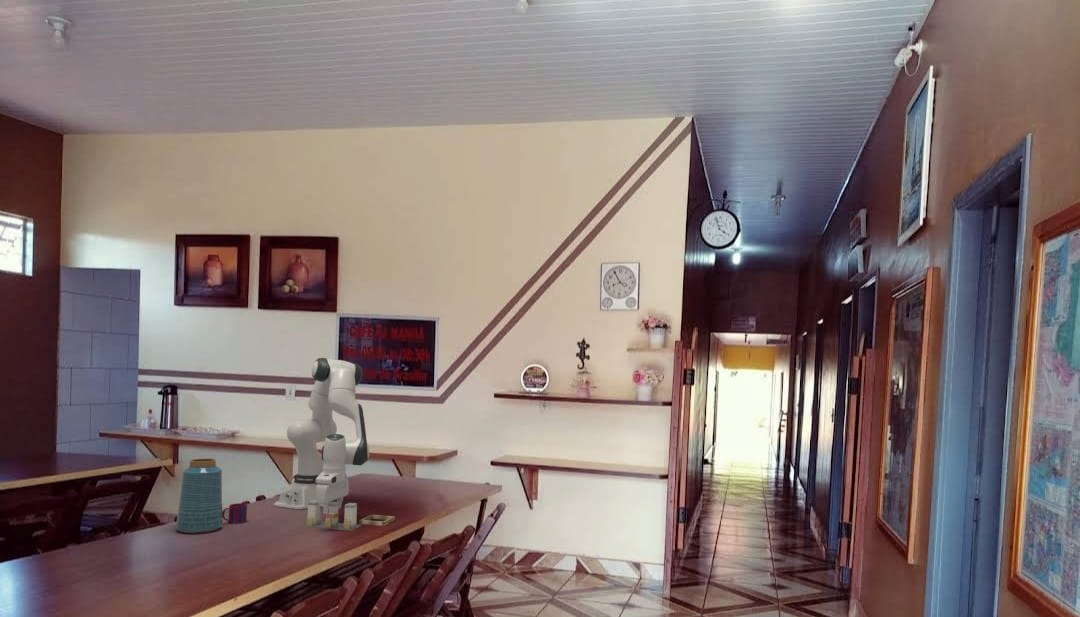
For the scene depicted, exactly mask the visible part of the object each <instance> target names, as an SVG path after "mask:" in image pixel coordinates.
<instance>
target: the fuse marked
mask: <svg viewBox="0 0 1080 617" xmlns="http://www.w3.org/2000/svg"><path fill="white" fill-rule="evenodd" d="M338 503H339V502H337V501H331V502H329V505H328V509H329V513H328V514H325V519H332V527H334V526H336V525H338V523H339V509H338Z"/></svg>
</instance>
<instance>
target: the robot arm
mask: <svg viewBox="0 0 1080 617" xmlns="http://www.w3.org/2000/svg"><path fill="white" fill-rule="evenodd" d="M311 376H312V378H313V380H315V382H314V384H313V387H312V390H311V393H310V397H309V399H308V402H307V403H308V404H307V405H308V408H309V409H310V410H311V411H312V416H311V418H310V419H309V418H308V419H300V420H299V419H298V420H297V421H294V422H292V423H290V424H289V425H288V427H287V429H286V436H287V439H288V441H289V442H290V443H291V444H292V445H293V446H294V449H295V450H296V454H297V474H294V475H292V476H291V477H292V479H294V480H293V482H291V484H289V485H288V486H287V487H286V488H285V487H284V489H283V490H281V493H280V496H279V500H277V501H276V502H274V503H273V506H274V507H280V508H284V509H285V508H286V509H292V510H294V509H295V510H302V509H303V510H304V509H308V502H309V501H312V500H316V502H317V503H318V504H320V508H322V509H323V510H322V511H323V515H326V514H328V513H329V509H328V505H329V502H335V501H336V502H339V503H338V510H340V509H341V508H342V504H343V501H344V497H346V496H348V495H349V493H350V491H349V490H350V488H349V487H350V486H349V485H350V484H349V479H348V475H347V474H346V469H347V468H346V465H351V466H352V465H353V466H360V467H361V466H363V465H364V464H366V462H368V461H369V457H370V448H369V444H368V440H367V432H366V425H365V424H366V423H365V415H364V411H363V410H364V409H363V406H362V404H360V403H359V402H358V401H357V399H356V387H357V386H358V385H359V384H361V381H362V377H363V369H362V367H361V366H360V365H359V364H357V363H353V362H350V361H346V360H342V359H333V358H327V357H319V358H317V359H316V360H314V362H313V364H312V366H311ZM333 412H335V413H337V414H338V415H341V416H344V417H346V418H348V419H350V420H352V421H353V422H354V424H355V426H354V427H355V435H356V439H355V440H346V436H345V435H343V434H339V433H337V431H338V429H337V424H336V422H335V421H334V419H333ZM317 443H324V445H323V446H322V447H321V452H320V451H318V447H317Z"/></svg>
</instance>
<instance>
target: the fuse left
mask: <svg viewBox="0 0 1080 617" xmlns="http://www.w3.org/2000/svg"><path fill="white" fill-rule="evenodd" d="M308 517H309V518H313V525H317V524H319V522H320V521H321V507H320V504H318V503H317V502H316V500H312V501H309V502H308V508H307V518H308Z"/></svg>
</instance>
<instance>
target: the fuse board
mask: <svg viewBox="0 0 1080 617" xmlns="http://www.w3.org/2000/svg"><path fill="white" fill-rule="evenodd" d="M357 521H358V519H357V517H356V527H354V528H350V521H346V520H345V521H344V520H343V522H338V525H336V526H334V527H332V519H326V518H325V520H324V521H321V520H320V522H319V524H317V525H313V518H309V517H308V516H307V517H306V523H305V524H302V525H300V526H299V527H303V528H314V529H323V530H325V529H326V530H338V531H347V532H348V531H349V532H350V531H354V530H355V529H358V528H360V527H362V526H363V524H359V523H357Z"/></svg>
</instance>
